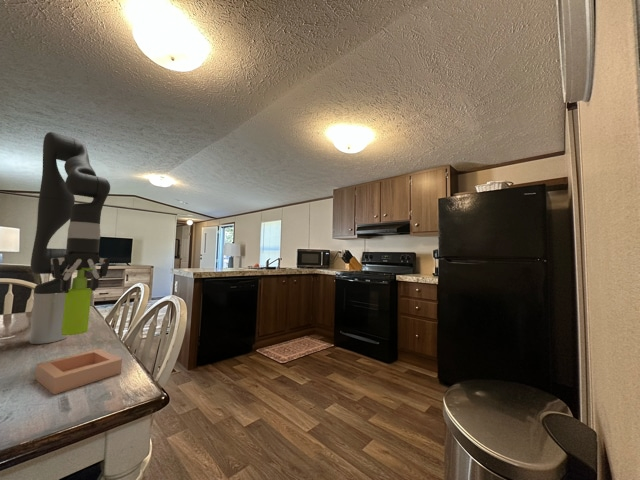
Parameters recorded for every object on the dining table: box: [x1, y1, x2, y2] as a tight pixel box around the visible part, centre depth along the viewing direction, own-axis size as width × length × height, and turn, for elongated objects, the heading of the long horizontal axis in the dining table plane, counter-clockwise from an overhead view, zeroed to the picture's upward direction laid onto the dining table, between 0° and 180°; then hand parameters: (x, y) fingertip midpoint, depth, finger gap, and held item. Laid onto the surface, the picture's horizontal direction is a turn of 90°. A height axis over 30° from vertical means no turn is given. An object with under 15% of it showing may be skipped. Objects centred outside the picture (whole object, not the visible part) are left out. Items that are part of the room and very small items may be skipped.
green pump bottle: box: [61, 268, 94, 336], centre depth 80 cm, size 6×7×20 cm
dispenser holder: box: [34, 348, 123, 395], centre depth 67 cm, size 14×13×4 cm
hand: (79, 291), depth 80 cm, fingers closed on green pump bottle, 6 cm apart
